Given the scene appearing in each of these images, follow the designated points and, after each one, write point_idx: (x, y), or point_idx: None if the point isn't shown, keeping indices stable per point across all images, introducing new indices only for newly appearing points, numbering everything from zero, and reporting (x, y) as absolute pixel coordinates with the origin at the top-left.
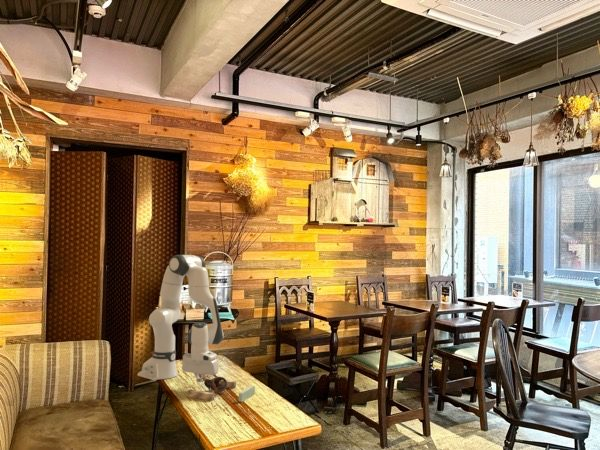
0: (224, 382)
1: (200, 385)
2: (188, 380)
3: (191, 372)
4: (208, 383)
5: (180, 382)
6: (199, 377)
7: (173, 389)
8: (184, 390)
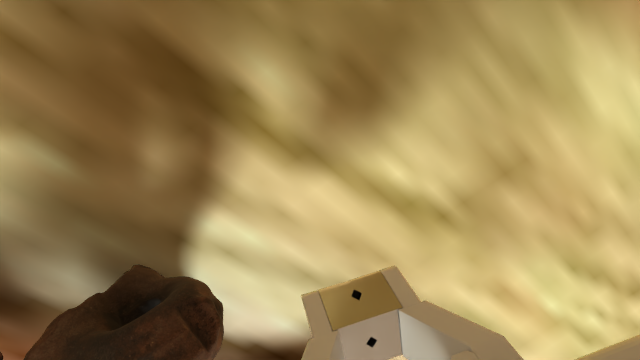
0: None
1: None
2: (586, 296)
3: (619, 342)
4: (92, 331)
5: (633, 220)
6: (403, 355)
7: (614, 6)
8: (459, 70)
